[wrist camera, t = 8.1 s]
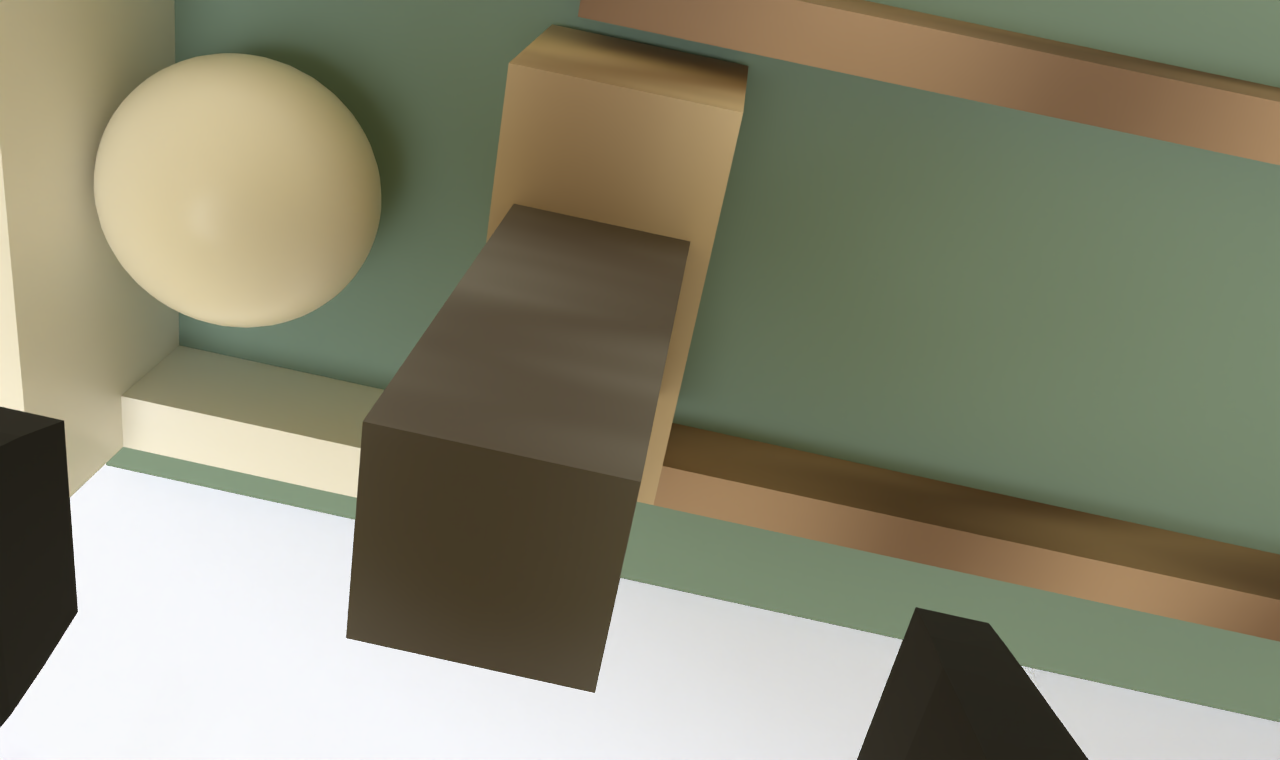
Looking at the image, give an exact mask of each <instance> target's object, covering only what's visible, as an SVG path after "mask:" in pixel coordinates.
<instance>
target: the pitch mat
mask: <svg viewBox="0 0 1280 760" xmlns="http://www.w3.org/2000/svg"><path fill="white" fill-rule="evenodd" d="M865 1H870V2H874V3H879V4H884V5H889V6H893V7H898V8H903V9H908V10H912V11H917V12H922V13H927V14H931V15H936V16H941V17H946V18H950V19H955V20H960V21H965V22H969V23H974V24H979V25H984V26H988V27H993V28H998V29H1003V30H1007V31H1012V32H1017V33H1022V34H1026V35H1031V36H1036V37H1041V38H1045V39H1050V40H1055V41H1060V42H1064V43H1069V44H1074V45H1079V46H1083V47H1088V48H1093V49H1098V50H1102V51H1107V52H1112V53H1117V54H1121V55H1126V56H1131V57H1136V58H1140V59H1145V60H1150V61H1155V62H1159V63H1164V64H1169V65H1174V66H1178V67H1183V68H1188V69H1193V70H1197V71H1202V72H1207V73H1212V74H1216V75H1221V76H1226V77H1231V78H1235V79H1240V80H1245V81H1250V82H1254V83H1259V84H1264V85H1268V86H1273V87H1278V88H1280V0H865ZM579 6H580V0H174V9H175V63H178V62H180V61H183V60H187V59H190V58H193V57H197V56H204V55H210V54H219V53H240V54H249V55H255V56H261V57H266V58H269V59H272V60H275V61H278V62H281V63H284V64H287V65H290V66H292V67H294V68H296V69H298V70H299V71H301V72H303V73H305V74H307V75H309V76H311V77H313V78H314V79H316V80H317V81H318V82H319V83H321V84H322V85H323V86H325V87H326V88H327V89H328V90H330V91H331V92H332V93H334V94H335V95H336V96H337V97H338V98H339V100H340V101H341V102H342V103H343V104H344V105H345V106H346V107H347V108H348V109H349V111H350V112H351V113H352V114H353V116H354V117H355V119H356V120H357V121H358V123H359V124H360V126H361V128H362V129H363V131H364V133H365V135H366V137H367V139H368V141H369V143H370V145H371V148H372V151H373V154H374V157H375V160H376V163H377V166H378V171H379V175H380V184H381V214H380V221H379V225H378V230H377V233H376V236H375V239H374V243H373V245H372V247H371V250H370V252H369V254H368V256H367V258H366V260H365V261H364V263H363V265H362V266H361V268H360V269H359V271H358V272H357V274H356V275H355V276H354V278H353V279H352V280H351V281H350V283H349V284H348V285H347V286H346V287H345V288H344V289H343V290H342V291H341V292H340V293H339V294H337V295H336V296H335V297H334V298H333V299H331V300H330V301H328V302H327V303H325V304H324V305H322V306H321V307H319V308H318V309H316V310H314V311H312V312H310V313H308V314H306V315H304V316H302V317H299V318H296V319H294V320H291V321H287V322H284V323H280V324H276V325H271V326H261V327H250V328H244V327H229V326H221V325H216V324H211V323H207V322H204V321H200V320H197V319H194V318H191V317H189V316H186V315H184V314H182V313H180V312H179V345H180V346H184V347H189V348H194V349H198V350H203V351H208V352H212V353H217V354H221V355H226V356H231V357H235V358H240V359H244V360H249V361H254V362H258V363H263V364H267V365H272V366H277V367H281V368H286V369H290V370H295V371H300V372H304V373H309V374H313V375H318V376H323V377H327V378H332V379H336V380H341V381H346V382H350V383H355V384H359V385H364V386H369V387H373V388H378V389H382V390H385V388H386V387H387V386H388V384H389V383H390V381H391V380H392V378H393V377H394V375H395V374H396V373H397V371H398V370H399V368H400V367H401V365H402V364H403V363H404V361H405V360H406V358H407V357H408V355H409V354H410V352H411V351H412V350H413V348H414V347H415V345H416V344H417V342H418V341H419V339H420V338H421V337H422V335H423V334H424V332H425V331H426V329H427V328H428V326H429V325H430V324H431V322H432V321H433V319H434V318H435V316H436V315H437V313H438V312H439V311H440V309H441V308H442V306H443V305H444V303H445V302H446V300H447V299H448V298H449V296H450V295H451V293H452V292H453V290H454V289H455V287H456V286H457V285H458V283H459V282H460V280H461V279H462V277H463V276H464V275H465V273H466V272H467V270H468V269H469V267H470V266H471V264H472V263H473V262H474V260H475V259H476V257H477V256H478V254H479V253H480V251H481V250H482V249H483V247H484V246H485V244H486V240H487V232H488V224H489V216H490V208H491V200H492V192H493V184H494V176H495V168H496V160H497V152H498V144H499V136H500V128H501V120H502V112H503V105H504V97H505V89H506V81H507V73H508V65H509V62H510V61H512V60H513V59H514V58H515V57H516V56H517V55H518V54H519V53H520V52H522V51H523V50H524V49H525V48H526V47H527V46H528V45H529V44H531V43H532V42H533V41H534V40H535V39H536V38H537V37H538V36H540V35H541V34H542V33H543V32H544V31H545V30H546V29H547V28H549V27H550V26H551V25H552V24H553V25H557V26H562V27H567V28H572V29H576V30H581V31H586V32H591V33H595V34H600V35H605V36H609V37H614V38H619V39H624V40H628V41H633V42H638V43H642V44H647V45H652V46H657V47H661V48H666V49H671V50H675V51H680V52H685V53H690V54H694V55H699V56H704V57H709V58H713V59H718V60H723V61H727V62H732V63H737V64H742V65H746V66H749V67H748V76H747V85H746V94H745V102H744V111H743V116H742V121H741V125H740V129H739V134H738V138H737V143H736V147H735V151H734V156H733V160H732V164H731V169H730V173H729V177H728V182H727V186H726V191H725V195H724V199H723V204H722V208H721V212H720V217H719V221H718V225H717V230H716V234H715V239H714V243H713V247H712V252H711V256H710V260H709V265H708V269H707V274H706V278H705V282H704V287H703V291H702V295H701V300H700V304H699V308H698V313H697V317H696V322H695V326H694V330H693V335H692V339H691V343H690V348H689V352H688V357H687V361H686V365H685V370H684V374H683V378H682V383H681V387H680V391H679V396H678V400H677V405H676V409H675V413H674V418H673V422H672V423H675V424H680V425H685V426H689V427H694V428H698V429H703V430H708V431H712V432H717V433H721V434H726V435H731V436H735V437H740V438H745V439H749V440H754V441H758V442H763V443H768V444H772V445H777V446H781V447H786V448H791V449H795V450H800V451H804V452H809V453H814V454H818V455H823V456H828V457H832V458H837V459H841V460H846V461H851V462H855V463H860V464H864V465H869V466H874V467H878V468H883V469H888V470H892V471H897V472H901V473H906V474H911V475H915V476H920V477H924V478H929V479H934V480H938V481H943V482H947V483H952V484H957V485H961V486H966V487H971V488H975V489H980V490H984V491H989V492H994V493H998V494H1003V495H1007V496H1012V497H1017V498H1021V499H1026V500H1030V501H1035V502H1040V503H1044V504H1049V505H1054V506H1058V507H1063V508H1067V509H1072V510H1077V511H1081V512H1086V513H1090V514H1095V515H1100V516H1104V517H1109V518H1113V519H1118V520H1123V521H1127V522H1132V523H1137V524H1141V525H1146V526H1150V527H1155V528H1160V529H1164V530H1169V531H1173V532H1178V533H1183V534H1187V535H1192V536H1197V537H1201V538H1206V539H1210V540H1215V541H1220V542H1224V543H1229V544H1233V545H1238V546H1243V547H1247V548H1252V549H1256V550H1261V551H1266V552H1270V553H1275V554H1280V165H1276V164H1271V163H1266V162H1262V161H1257V160H1252V159H1247V158H1243V157H1238V156H1233V155H1229V154H1224V153H1219V152H1214V151H1210V150H1205V149H1200V148H1195V147H1191V146H1186V145H1181V144H1177V143H1172V142H1167V141H1162V140H1158V139H1153V138H1148V137H1143V136H1139V135H1134V134H1129V133H1125V132H1120V131H1115V130H1110V129H1106V128H1101V127H1096V126H1092V125H1087V124H1082V123H1077V122H1073V121H1068V120H1063V119H1058V118H1054V117H1049V116H1044V115H1040V114H1035V113H1030V112H1025V111H1021V110H1016V109H1011V108H1006V107H1002V106H997V105H992V104H988V103H983V102H978V101H973V100H969V99H964V98H959V97H955V96H950V95H945V94H940V93H936V92H931V91H926V90H921V89H917V88H912V87H907V86H903V85H898V84H893V83H888V82H884V81H879V80H874V79H869V78H865V77H860V76H855V75H851V74H846V73H841V72H836V71H832V70H827V69H822V68H818V67H813V66H808V65H803V64H799V63H794V62H789V61H784V60H780V59H775V58H770V57H766V56H761V55H756V54H751V53H747V52H742V51H737V50H732V49H728V48H723V47H718V46H714V45H709V44H704V43H699V42H695V41H690V40H685V39H681V38H676V37H671V36H666V35H662V34H657V33H652V32H647V31H643V30H638V29H633V28H629V27H624V26H619V25H614V24H610V23H605V22H600V21H595V20H591V19H586V18H581V17H578V12H579ZM106 465H108V466H113V467H117V468H122V469H126V470H131V471H135V472H140V473H145V474H149V475H154V476H158V477H163V478H167V479H172V480H177V481H181V482H186V483H190V484H195V485H199V486H204V487H209V488H213V489H218V490H222V491H227V492H231V493H236V494H240V495H245V496H250V497H254V498H259V499H263V500H268V501H272V502H277V503H282V504H286V505H291V506H295V507H300V508H304V509H309V510H314V511H318V512H323V513H327V514H332V515H336V516H341V517H345V518H350V519H355V516H356V503H357V498H355V497H351V496H346V495H342V494H337V493H332V492H328V491H323V490H319V489H314V488H310V487H305V486H301V485H296V484H291V483H287V482H282V481H278V480H273V479H269V478H264V477H259V476H255V475H250V474H246V473H241V472H237V471H232V470H227V469H223V468H218V467H214V466H209V465H205V464H200V463H195V462H191V461H186V460H182V459H177V458H173V457H168V456H163V455H159V454H154V453H150V452H145V451H141V450H136V449H131V448H127V447H122V448H121V449H120V450H119V451H118V452H117V453H116V454H115V455H114V456H113V457H112V458H111V459H110V460H109V461H108V462H107V463H106ZM620 578H624V579H629V580H633V581H638V582H642V583H647V584H651V585H656V586H660V587H665V588H670V589H674V590H679V591H683V592H688V593H692V594H697V595H702V596H706V597H711V598H715V599H720V600H724V601H729V602H734V603H738V604H743V605H747V606H752V607H756V608H761V609H765V610H770V611H775V612H779V613H784V614H788V615H793V616H797V617H802V618H807V619H811V620H816V621H820V622H825V623H829V624H834V625H839V626H843V627H848V628H852V629H857V630H861V631H866V632H870V633H875V634H880V635H884V636H889V637H893V638H898V639H902V640H903V639H904V636H905V633H906V631H907V628H908V626H909V623H910V620H911V618H912V615H913V613H914V610H915V607H918V608H922V609H927V610H931V611H936V612H940V613H945V614H950V615H954V616H959V617H963V618H968V619H972V620H977V621H982V622H986V623H989V624H990V625H991V626H992V628H993V629H994V630H995V632H996V633H997V634H998V636H999V637H1000V638H1001V639H1002V641H1003V642H1004V643H1005V645H1006V646H1007V648H1008V649H1009V650H1010V652H1011V653H1012V654H1013V656H1014V657H1015V658H1016V660H1017V661H1018V663H1019V664H1020V665H1021V666H1026V667H1030V668H1035V669H1039V670H1044V671H1049V672H1053V673H1058V674H1062V675H1067V676H1071V677H1076V678H1080V679H1085V680H1090V681H1094V682H1099V683H1103V684H1108V685H1112V686H1117V687H1122V688H1126V689H1131V690H1135V691H1140V692H1144V693H1149V694H1154V695H1158V696H1163V697H1167V698H1172V699H1176V700H1181V701H1185V702H1190V703H1195V704H1199V705H1204V706H1208V707H1213V708H1217V709H1222V710H1227V711H1231V712H1236V713H1240V714H1245V715H1249V716H1254V717H1259V718H1263V719H1268V720H1272V721H1277V722H1280V642H1279V641H1274V640H1270V639H1265V638H1260V637H1256V636H1251V635H1247V634H1242V633H1237V632H1233V631H1228V630H1224V629H1219V628H1214V627H1210V626H1205V625H1201V624H1196V623H1192V622H1187V621H1182V620H1178V619H1173V618H1169V617H1164V616H1159V615H1155V614H1150V613H1146V612H1141V611H1136V610H1132V609H1127V608H1123V607H1118V606H1114V605H1109V604H1104V603H1100V602H1095V601H1091V600H1086V599H1081V598H1077V597H1072V596H1068V595H1063V594H1058V593H1054V592H1049V591H1045V590H1040V589H1036V588H1031V587H1026V586H1022V585H1017V584H1013V583H1008V582H1003V581H999V580H994V579H990V578H985V577H981V576H976V575H971V574H967V573H962V572H958V571H953V570H948V569H944V568H939V567H935V566H930V565H925V564H921V563H916V562H912V561H907V560H903V559H898V558H893V557H889V556H884V555H880V554H875V553H870V552H866V551H861V550H857V549H852V548H847V547H843V546H838V545H834V544H829V543H825V542H820V541H815V540H811V539H806V538H802V537H797V536H792V535H788V534H783V533H779V532H774V531H769V530H765V529H760V528H756V527H751V526H747V525H742V524H737V523H733V522H728V521H724V520H719V519H714V518H710V517H705V516H701V515H696V514H691V513H687V512H682V511H678V510H673V509H669V508H664V507H659V506H655V505H650V504H646V503H641V502H637V503H636V508H635V512H634V517H633V521H632V526H631V530H630V535H629V540H628V544H627V549H626V553H625V558H624V562H623V567H622V571H621V576H620Z"/></svg>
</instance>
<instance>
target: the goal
mask: <svg viewBox="0 0 1280 760" xmlns="http://www.w3.org/2000/svg"><path fill="white" fill-rule="evenodd" d="M173 64H175V9H174V0H0V407H5V408H9V409H14V410H19V411H23V412H28V413H32V414H37V415H41V416H46V417H50V418H55V419H60V420H64V425H65V439H66V453H67V468H68V482H69V496H70V497H71V496H72V495H73V494H74V493H75V492H76V491H77V490H78V489H79V488H80V487H81V486H83V485H84V484H85V483H86V482H87V481H88V480H89V479H90V478H91V477H92V476H93V475H94V474H95V473H96V472H97V471H98V470H99V469H100V468H101V467H102V466H104V465H105V464H106V463H107V462H108V461H109V460H110V459H111V458H112V457H113V456H114V455H115V454H116V453H117V452H118V451H119V450H120V449H121V448H122V447H127V448H131V449H136V450H141V451H145V452H150V453H154V454H159V455H163V456H168V457H173V458H177V459H182V460H186V461H191V462H195V463H200V464H205V465H209V466H214V467H218V468H223V469H227V470H232V471H237V472H241V473H246V474H250V475H255V476H259V477H264V478H269V479H273V480H278V481H282V482H287V483H291V484H296V485H301V486H305V487H310V488H314V489H319V490H323V491H328V492H332V493H337V494H342V495H346V496H351V497H355V498H357V490H358V476H359V463H360V450H361V437H362V424H363V420H364V419H365V417H366V416H367V414H368V413H369V412H370V410H371V409H372V407H373V406H374V404H375V403H376V401H377V400H378V399H379V397H380V396H381V394H382V393H383V391H384V390H382V389H378V388H373V387H369V386H364V385H359V384H355V383H350V382H346V381H341V380H336V379H332V378H327V377H323V376H318V375H313V374H309V373H304V372H300V371H295V370H290V369H286V368H281V367H277V366H272V365H267V364H263V363H258V362H254V361H249V360H244V359H240V358H235V357H231V356H226V355H221V354H217V353H212V352H208V351H203V350H198V349H194V348H189V347H184V346H180V345H179V312H178V311H176V310H173V309H172V308H170V307H168V306H167V305H165V304H163V303H162V302H160V301H159V300H157V299H156V298H154V297H153V296H152V295H150V294H149V293H148V292H147V291H146V290H144V289H143V288H142V287H141V286H140V285H139V284H138V283H137V282H136V281H135V280H134V279H133V278H132V277H131V276H130V275H129V273H128V272H127V271H126V270H125V269H124V268H123V266H122V265H121V264H120V262H119V261H118V259H117V257H116V256H115V254H114V253H113V251H112V249H111V247H110V246H109V244H108V242H107V240H106V238H105V235H104V233H103V230H102V228H101V224H100V221H99V217H98V213H97V209H96V205H95V197H94V169H95V162H96V155H97V151H98V148H99V144H100V141H101V138H102V136H103V133H104V131H105V128H106V126H107V124H108V123H109V121H110V119H111V117H112V115H113V114H114V112H115V111H116V110H117V108H118V107H119V106H120V104H121V103H122V102H123V101H124V100H125V98H126V97H127V96H128V95H129V94H130V93H131V92H132V91H133V90H134V89H135V88H136V87H138V86H139V85H140V84H141V83H142V82H144V81H145V80H146V79H147V78H149V77H150V76H152V75H154V74H155V73H157V72H158V71H160V70H162V69H164V68H166V67H169V66H171V65H173Z"/></svg>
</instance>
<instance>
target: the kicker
mask: <svg viewBox="0 0 1280 760" xmlns="http://www.w3.org/2000/svg"><path fill="white" fill-rule="evenodd" d="M748 67H749V66H746V65H742V64H737V63H732V62H727V61H723V60H718V59H713V58H709V57H704V56H699V55H694V54H690V53H685V52H680V51H675V50H671V49H666V48H661V47H657V46H652V45H647V44H642V43H638V42H633V41H628V40H624V39H619V38H614V37H609V36H605V35H600V34H595V33H591V32H586V31H581V30H576V29H572V28H567V27H562V26H557V25H553V24H552V25H551V26H550V27H549V28H547V29H546V30H545V31H544V32H543V33H542V34H541V35H540V36H538V37H537V38H536V39H535V40H534V41H533V42H532V43H531V44H529V45H528V46H527V47H526V48H525V49H524V50H523V51H522V52H520V53H519V54H518V55H517V56H516V57H515V58H514V59H513V60H512V61H510V62H509V65H508V73H507V81H506V89H505V97H504V105H503V112H502V120H501V128H500V136H499V144H498V152H497V160H496V168H495V176H494V184H493V192H492V200H491V208H490V216H489V224H488V232H487V240H486V244H485V246H484V247H483V249H482V250H481V251H480V253H479V254H478V256H477V257H476V259H475V260H474V262H473V263H472V264H471V266H470V267H469V269H468V270H467V272H466V273H465V275H464V276H463V277H462V279H461V280H460V282H459V283H458V285H457V286H456V287H455V289H454V290H453V292H452V293H451V295H450V296H449V298H448V299H447V300H446V302H445V303H444V305H443V306H442V308H441V309H440V311H439V312H438V313H437V315H436V316H435V318H434V319H433V321H432V322H431V324H430V325H429V326H428V328H427V329H426V331H425V332H424V334H423V335H422V337H421V338H420V339H419V341H418V342H417V344H416V345H415V347H414V348H413V350H412V351H411V352H410V354H409V355H408V357H407V358H406V360H405V361H404V363H403V364H402V365H401V367H400V368H399V370H398V371H397V373H396V374H395V375H394V377H393V378H392V380H391V381H390V383H389V384H388V386H387V387H386V388H385V390H384V391H383V393H382V394H381V396H380V397H379V399H378V400H377V401H376V403H375V404H374V406H373V407H372V409H371V410H370V412H369V413H368V414H367V416H366V417H365V419H364V420H363V424H362V437H361V450H360V463H359V476H358V490H357V503H356V516H355V529H354V542H353V555H352V568H351V582H350V595H349V608H348V621H347V634H346V638H349V639H353V640H358V641H362V642H367V643H371V644H376V645H380V646H385V647H389V648H394V649H398V650H403V651H407V652H412V653H417V654H421V655H426V656H430V657H435V658H439V659H444V660H448V661H453V662H457V663H462V664H466V665H471V666H475V667H480V668H484V669H489V670H494V671H498V672H503V673H507V674H512V675H516V676H521V677H525V678H530V679H534V680H539V681H543V682H548V683H552V684H557V685H562V686H566V687H571V688H575V689H580V690H584V691H589V692H593V693H595V690H596V685H597V680H598V676H599V671H600V667H601V662H602V658H603V653H604V649H605V644H606V640H607V635H608V630H609V626H610V621H611V617H612V612H613V608H614V603H615V599H616V594H617V590H618V585H619V580H620V576H621V571H622V567H623V562H624V558H625V553H626V549H627V544H628V540H629V535H630V530H631V526H632V521H633V517H634V512H635V508H636V503H637V502H641V503H646V504H650V505H654V501H655V496H656V492H657V488H658V483H659V479H660V474H661V470H662V466H663V461H664V457H665V453H666V448H667V444H668V440H669V435H670V431H671V426H672V422H673V418H674V413H675V409H676V405H677V400H678V396H679V391H680V387H681V383H682V378H683V374H684V370H685V365H686V361H687V357H688V352H689V348H690V343H691V339H692V335H693V330H694V326H695V322H696V317H697V313H698V308H699V304H700V300H701V295H702V291H703V287H704V282H705V278H706V274H707V269H708V265H709V260H710V256H711V252H712V247H713V243H714V239H715V234H716V230H717V225H718V221H719V217H720V212H721V208H722V204H723V199H724V195H725V191H726V186H727V182H728V177H729V173H730V169H731V164H732V160H733V156H734V151H735V147H736V143H737V138H738V134H739V129H740V125H741V121H742V116H743V111H744V102H745V94H746V85H747V76H748Z"/></svg>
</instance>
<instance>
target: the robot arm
mask: <svg viewBox="0 0 1280 760" xmlns="http://www.w3.org/2000/svg"><path fill="white" fill-rule="evenodd" d="M77 612H78V609H77V595H76V580H75V566H74V552H73V538H72V524H71V510H70V496H69V482H68V468H67V453H66V439H65V425H64V420H60V419H55V418H50V417H46V416H41V415H37V414H32V413H28V412H23V411H19V410H14V409H9V408H5V407H0V727H1V726H2V725H3V723H4V722H5V721H6V720H7V719H8V717H9V716H10V715H11V714H12V712H13V711H14V709H15V708H16V706H17V705H18V703H19V702H20V700H21V699H22V697H23V696H24V694H25V693H26V691H27V690H28V688H29V687H30V686H31V684H32V683H33V681H34V680H35V678H36V677H37V675H38V674H39V672H40V671H41V669H42V668H43V666H44V665H45V663H46V661H47V660H48V658H49V657H50V655H51V654H52V652H53V650H54V649H55V647H56V646H57V644H58V642H59V641H60V639H61V638H62V636H63V634H64V633H65V631H66V630H67V628H68V626H69V625H70V623H71V622H72V620H73V619H74V617H75V615H76V614H77ZM857 760H1088V758H1087V757H1086V756H1085V754H1084V753H1083V752H1082V750H1081V749H1080V747H1079V746H1078V745H1077V743H1076V742H1075V740H1074V739H1073V738H1072V736H1071V735H1070V734H1069V732H1068V731H1067V729H1066V728H1065V727H1064V725H1063V724H1062V722H1061V721H1060V720H1059V718H1058V717H1057V716H1056V714H1055V713H1054V711H1053V710H1052V709H1051V707H1050V706H1049V704H1048V703H1047V702H1046V700H1045V699H1044V697H1043V696H1042V695H1041V693H1040V692H1039V690H1038V689H1037V688H1036V686H1035V685H1034V683H1033V682H1032V681H1031V679H1030V678H1029V677H1028V675H1027V674H1026V672H1025V671H1024V670H1023V668H1022V667H1021V665H1020V664H1019V663H1018V661H1017V660H1016V658H1015V657H1014V656H1013V654H1012V653H1011V652H1010V650H1009V649H1008V648H1007V646H1006V645H1005V643H1004V642H1003V641H1002V639H1001V638H1000V637H999V636H998V634H997V633H996V632H995V630H994V629H993V628H992V626H991V625H990V624H989V623H986V622H982V621H977V620H972V619H968V618H963V617H959V616H954V615H950V614H945V613H940V612H936V611H931V610H927V609H922V608H918V607H915V610H914V613H913V615H912V618H911V620H910V623H909V626H908V628H907V631H906V633H905V636H904V639H903V641H902V644H901V647H900V649H899V652H898V654H897V657H896V660H895V662H894V665H893V667H892V670H891V673H890V675H889V678H888V680H887V683H886V686H885V688H884V691H883V693H882V696H881V699H880V701H879V704H878V706H877V709H876V712H875V714H874V717H873V719H872V722H871V725H870V727H869V730H868V732H867V735H866V738H865V740H864V743H863V745H862V748H861V751H860V753H859V756H858V758H857Z"/></svg>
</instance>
